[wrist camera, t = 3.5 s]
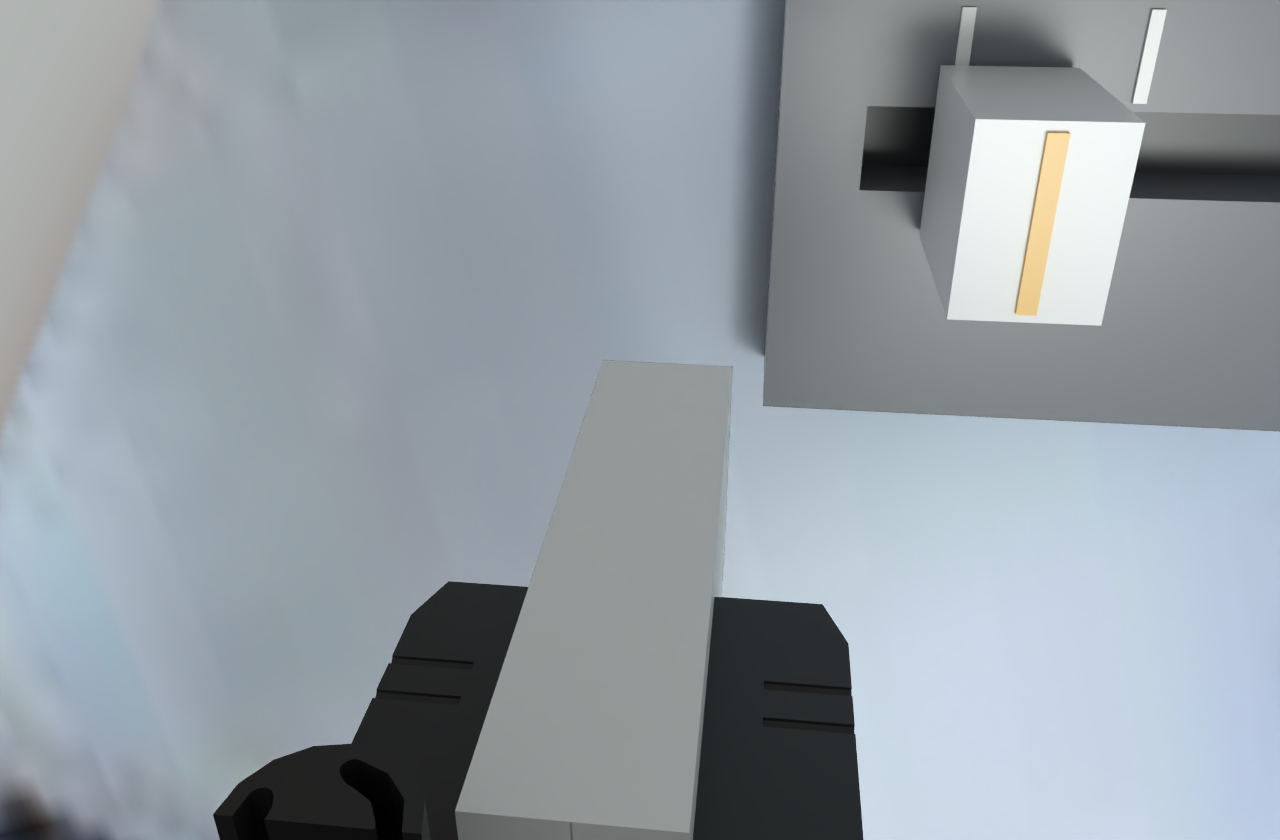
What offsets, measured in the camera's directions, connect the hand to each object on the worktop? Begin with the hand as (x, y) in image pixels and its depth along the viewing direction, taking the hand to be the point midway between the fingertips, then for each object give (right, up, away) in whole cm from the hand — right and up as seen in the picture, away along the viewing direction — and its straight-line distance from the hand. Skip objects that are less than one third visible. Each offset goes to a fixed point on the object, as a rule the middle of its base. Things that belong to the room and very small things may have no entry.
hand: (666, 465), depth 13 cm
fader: (+8, +8, +14) cm, 18 cm away
